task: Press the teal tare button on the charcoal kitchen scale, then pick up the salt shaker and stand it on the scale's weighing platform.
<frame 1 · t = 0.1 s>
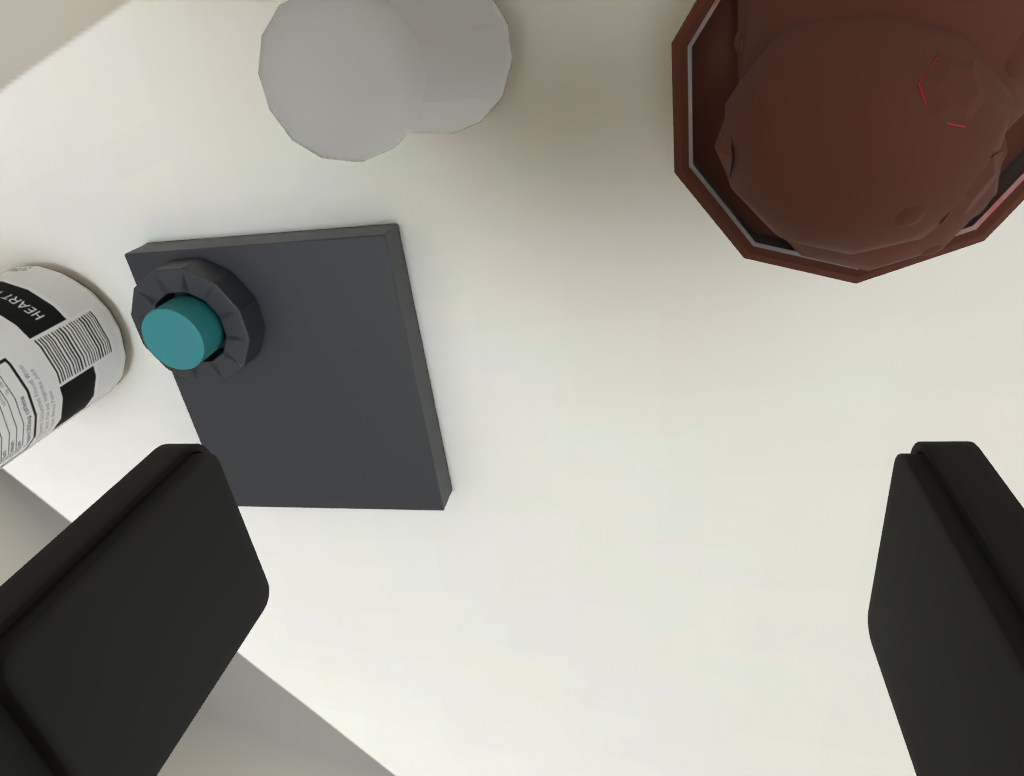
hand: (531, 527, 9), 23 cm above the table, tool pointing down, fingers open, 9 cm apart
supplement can: (70, 327, 39), on the table
scale: (309, 373, 38), on the table
tare button: (183, 332, 33), point 4 cm above the table, slide at 0.1 cm
salt shaker: (454, 50, 28), on the table
ice cream bowl: (807, 61, 26), on the table
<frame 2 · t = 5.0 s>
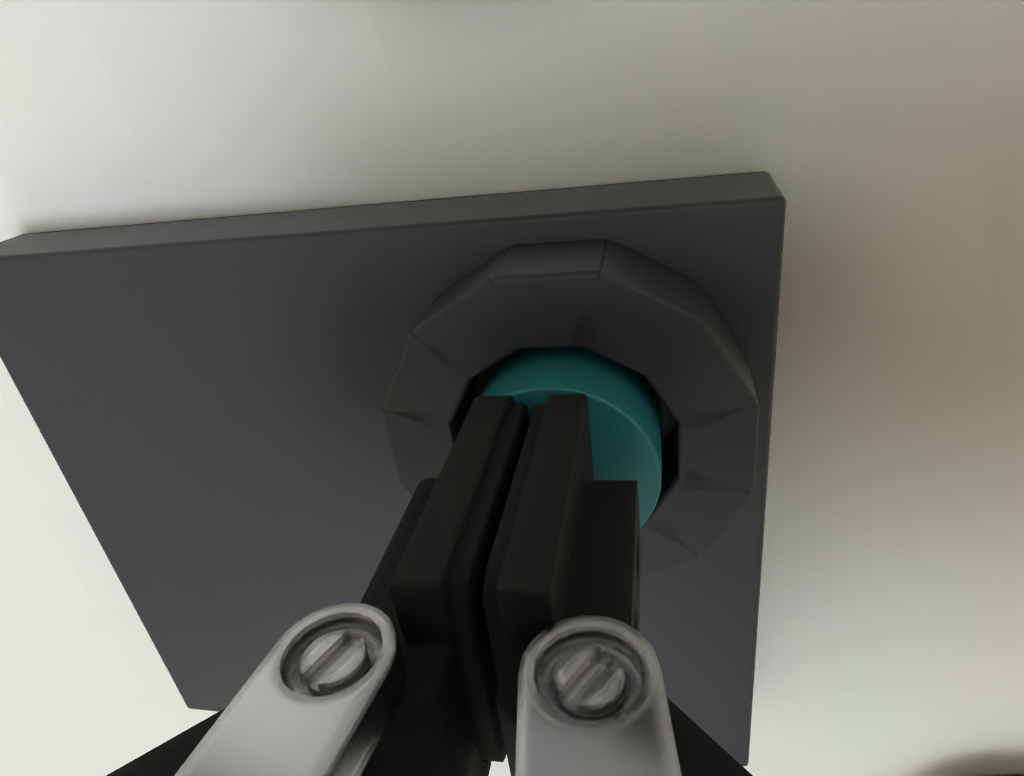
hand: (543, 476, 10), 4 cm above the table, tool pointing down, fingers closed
scale: (413, 487, 17), on the table
tare button: (563, 446, 11), point 3 cm above the table, slide at -0.5 cm, touching gripper
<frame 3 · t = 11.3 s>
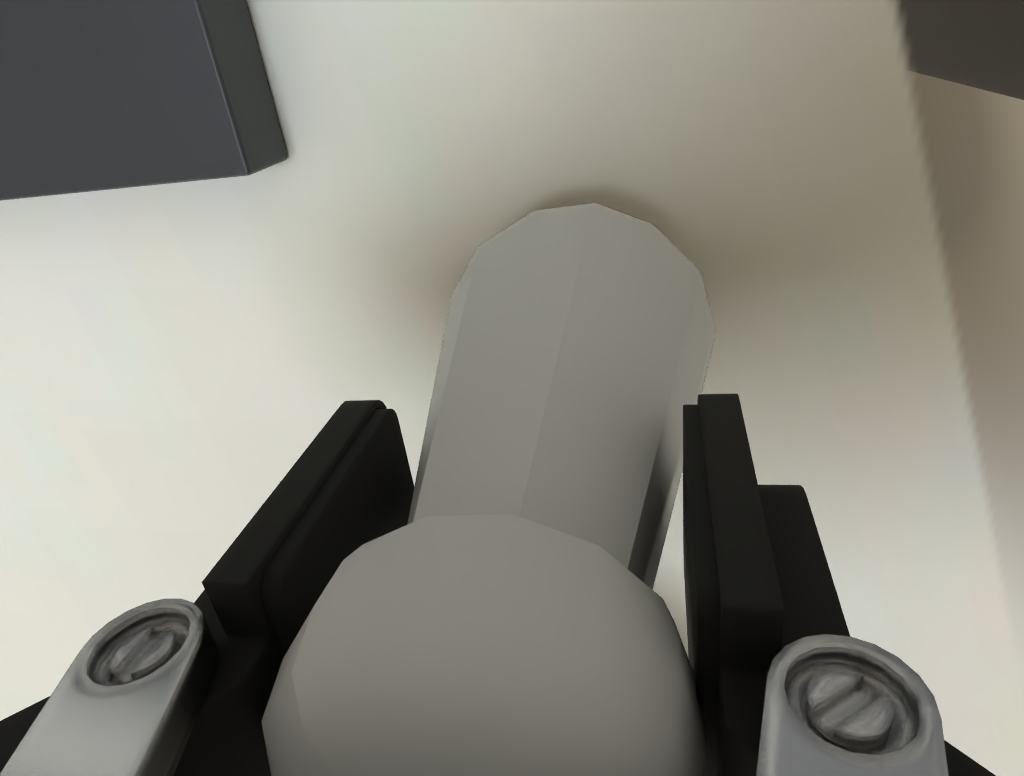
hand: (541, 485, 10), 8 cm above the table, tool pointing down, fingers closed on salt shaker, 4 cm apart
salt shaker: (586, 294, 17), on the table, touching gripper
when the fingers open (10 cm above the table, at t = 18.3 s): salt shaker stays where it is, resting on scale.
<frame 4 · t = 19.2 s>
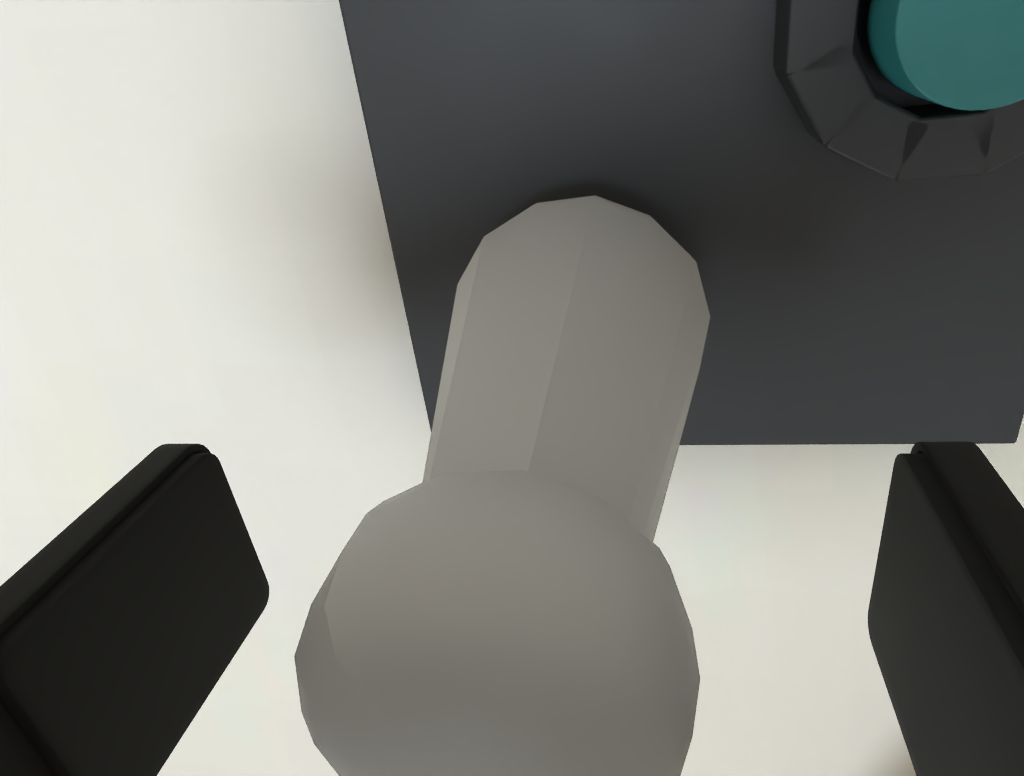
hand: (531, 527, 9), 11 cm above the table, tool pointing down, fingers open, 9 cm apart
scale: (696, 182, 18), on the table
tare button: (982, 4, 12), point 4 cm above the table, slide at 0.1 cm
salt shaker: (586, 285, 18), point 2 cm above the table, touching scale
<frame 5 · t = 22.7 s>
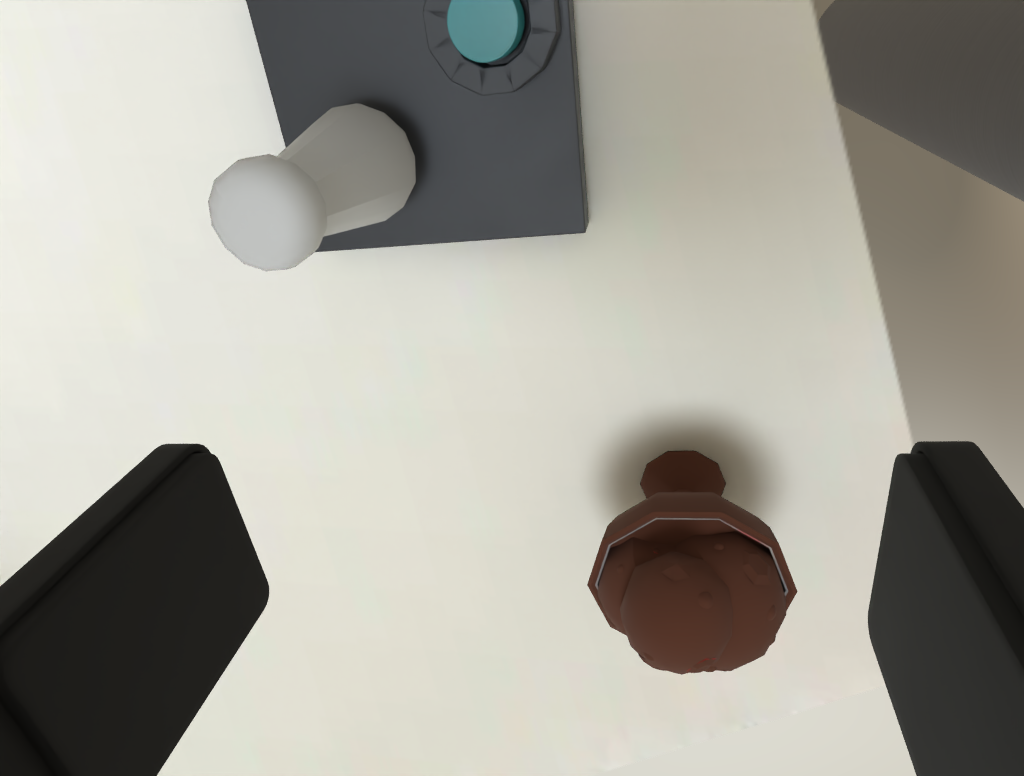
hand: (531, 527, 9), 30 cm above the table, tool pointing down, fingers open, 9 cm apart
scale: (430, 105, 36), on the table
tare button: (486, 21, 30), point 4 cm above the table, slide at 0.1 cm
salt shaker: (377, 156, 36), point 2 cm above the table, touching scale
ice cream bowl: (682, 482, 45), on the table
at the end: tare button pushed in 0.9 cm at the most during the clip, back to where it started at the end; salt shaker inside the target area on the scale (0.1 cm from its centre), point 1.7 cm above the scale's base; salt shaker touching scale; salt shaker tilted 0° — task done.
